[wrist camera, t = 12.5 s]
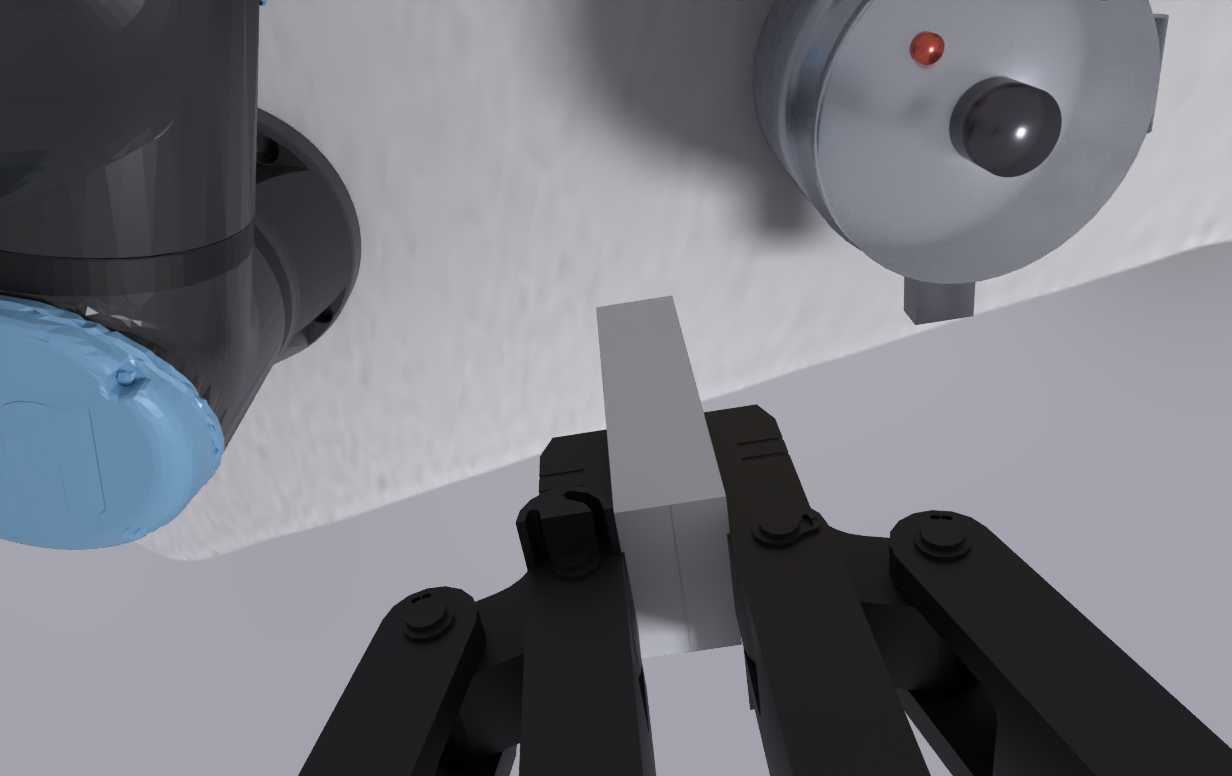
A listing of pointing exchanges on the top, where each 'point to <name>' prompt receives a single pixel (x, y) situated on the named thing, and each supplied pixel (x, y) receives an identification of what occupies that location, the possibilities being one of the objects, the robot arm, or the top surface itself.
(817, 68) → the pot
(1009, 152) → the lid
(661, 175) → the top surface
